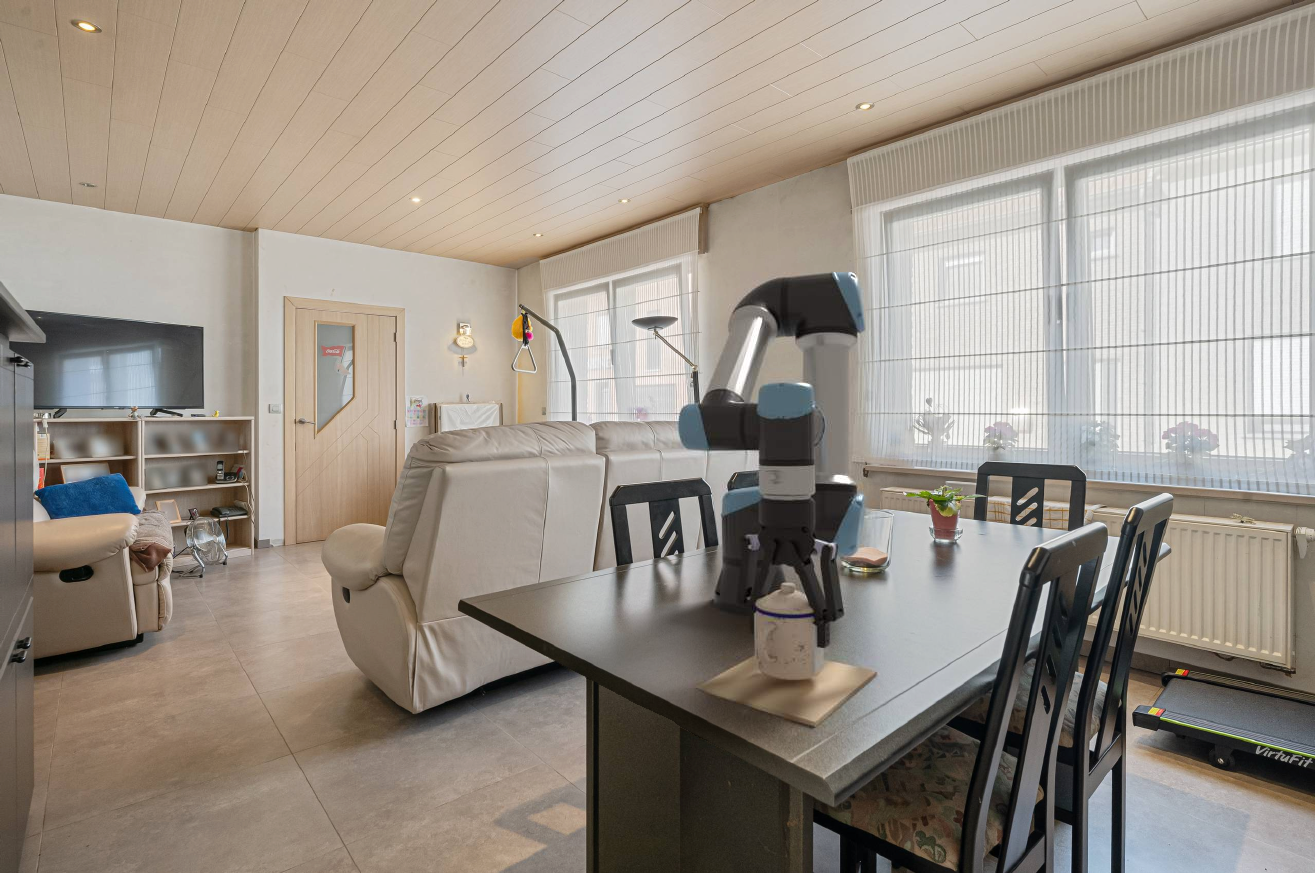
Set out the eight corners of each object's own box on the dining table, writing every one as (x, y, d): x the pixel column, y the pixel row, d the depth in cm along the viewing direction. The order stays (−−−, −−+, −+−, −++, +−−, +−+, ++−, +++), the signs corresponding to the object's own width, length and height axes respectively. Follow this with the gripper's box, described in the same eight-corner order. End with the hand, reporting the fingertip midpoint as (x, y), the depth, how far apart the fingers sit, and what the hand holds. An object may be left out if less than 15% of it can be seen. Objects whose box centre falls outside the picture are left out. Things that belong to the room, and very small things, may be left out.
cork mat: (695, 692, 86) (695, 687, 86) (769, 651, 102) (769, 647, 102) (815, 726, 76) (815, 721, 76) (877, 675, 91) (876, 671, 91)
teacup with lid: (776, 653, 95) (775, 573, 95) (835, 667, 89) (834, 582, 89) (730, 677, 86) (729, 589, 86) (791, 694, 80) (790, 600, 80)
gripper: (708, 494, 92) (710, 656, 92) (848, 503, 79) (850, 690, 80) (736, 490, 98) (738, 642, 98) (871, 498, 85) (872, 672, 85)
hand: (788, 663), depth 89 cm, fingers closed on teacup with lid, 8 cm apart
